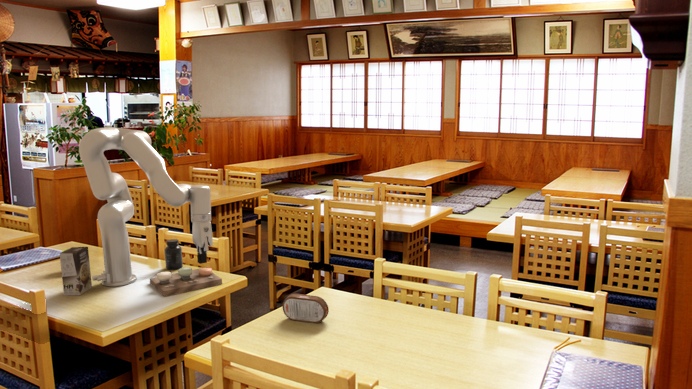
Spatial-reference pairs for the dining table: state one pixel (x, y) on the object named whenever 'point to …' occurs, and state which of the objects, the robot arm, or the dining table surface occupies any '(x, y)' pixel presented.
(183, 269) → the sage button
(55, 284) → the dining table surface
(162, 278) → the cream button
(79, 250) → the coffee box
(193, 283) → the button panel
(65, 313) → the dining table surface
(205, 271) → the terracotta button
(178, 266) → the supplement bottle
